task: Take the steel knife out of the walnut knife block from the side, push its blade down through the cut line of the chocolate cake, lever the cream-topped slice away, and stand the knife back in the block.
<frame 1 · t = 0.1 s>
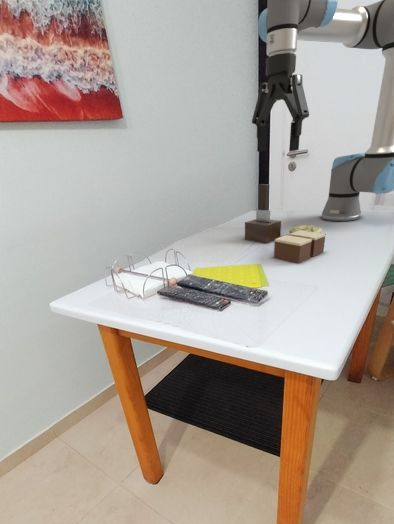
hand: (276, 151, 97), 28 cm above the table, tool pointing down, fingers open, 13 cm apart
knife: (263, 212, 118), in the knife block
knife block: (262, 238, 123), on the table
cake: (305, 252, 106), on the table
decorated donut: (304, 238, 120), on the table
cake slice: (291, 258, 102), on the table
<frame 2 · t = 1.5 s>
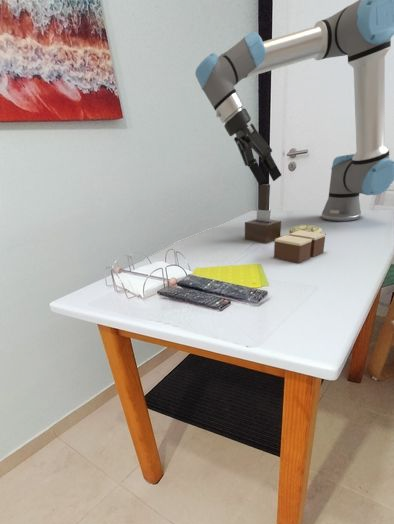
hand: (269, 180, 108), 20 cm above the table, tool tilted 30°, fingers open, 13 cm apart
knife: (263, 212, 118), in the knife block, touching gripper
everything else where it was.
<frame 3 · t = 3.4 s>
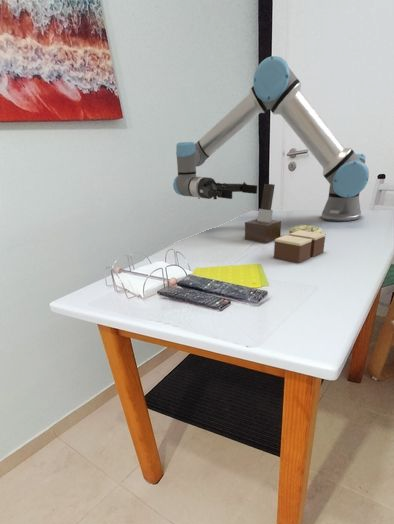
hand: (244, 192, 120), 15 cm above the table, tool horizontal, fingers open, 13 cm apart
knife: (265, 212, 119), resting in knife block, tilted 11°
everything else where it was.
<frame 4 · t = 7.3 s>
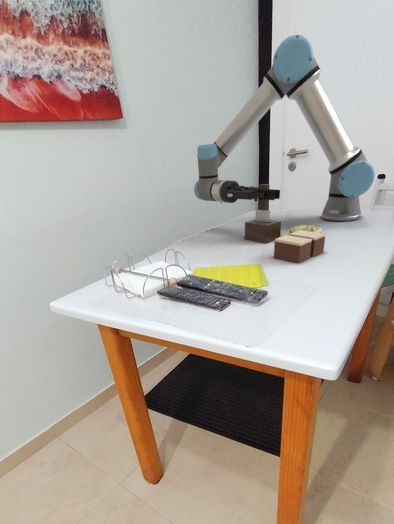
hand: (276, 195, 111), 15 cm above the table, tool horizontal, fingers closed on knife, 2 cm apart
knife: (262, 212, 118), in the knife block, touching gripper
everything else where it was.
when the fingers open (16 cm above the table, at t = 25.3 s): knife stays where it is, resting in knife block.
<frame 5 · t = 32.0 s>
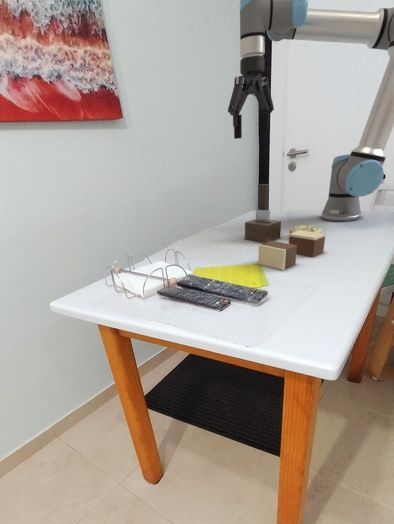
hand: (251, 137, 117), 32 cm above the table, tool pointing down, fingers open, 13 cm apart
knife: (262, 212, 118), in the knife block
cake slice: (283, 252, 98), point 3 cm above the table, tilted 90°
everything else where it was.
at the end: cake slice moved 5.2 cm from its start; cake moved 0.0 cm from its start; knife 0.1 cm off-centre on the knife block, point 9.0 cm above the knife block's base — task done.
